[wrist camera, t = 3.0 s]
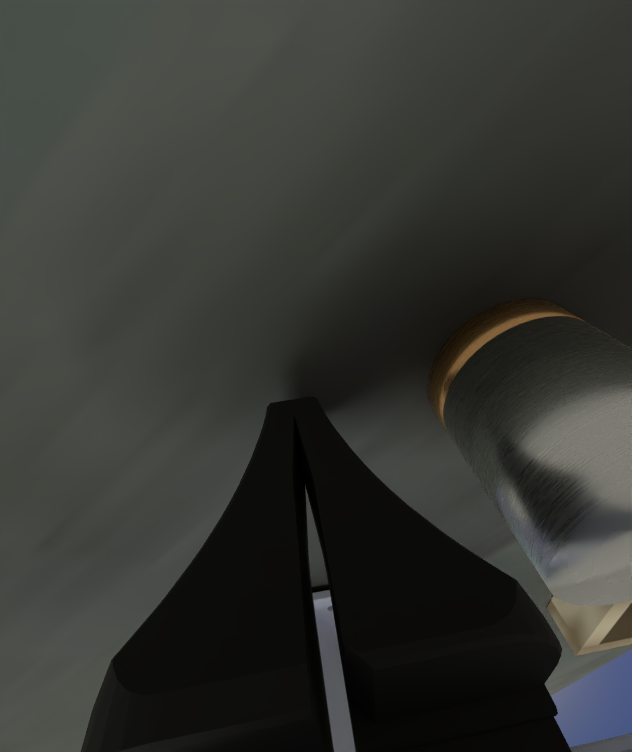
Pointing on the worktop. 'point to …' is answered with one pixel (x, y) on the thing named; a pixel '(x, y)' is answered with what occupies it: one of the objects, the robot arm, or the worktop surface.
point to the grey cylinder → (547, 439)
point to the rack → (593, 625)
